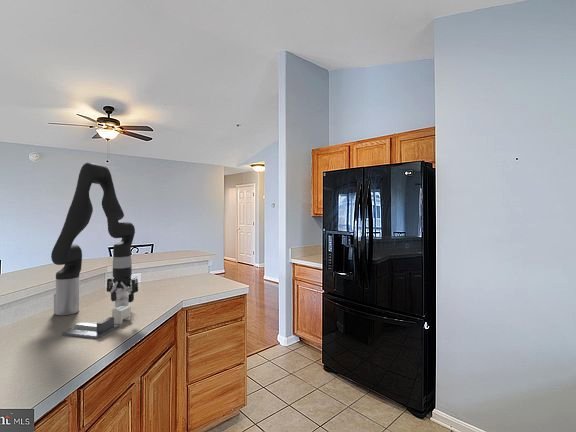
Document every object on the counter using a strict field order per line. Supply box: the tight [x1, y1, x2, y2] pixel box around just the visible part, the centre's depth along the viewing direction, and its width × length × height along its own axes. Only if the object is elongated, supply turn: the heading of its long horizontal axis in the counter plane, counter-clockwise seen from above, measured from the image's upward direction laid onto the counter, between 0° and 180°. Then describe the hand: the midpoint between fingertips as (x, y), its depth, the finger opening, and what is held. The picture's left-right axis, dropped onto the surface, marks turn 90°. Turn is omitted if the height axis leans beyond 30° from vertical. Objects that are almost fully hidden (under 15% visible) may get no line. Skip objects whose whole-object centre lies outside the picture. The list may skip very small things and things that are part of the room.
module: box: [111, 305, 131, 325], centre depth 133 cm, size 4×6×6 cm
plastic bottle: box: [114, 288, 130, 308], centre depth 151 cm, size 6×7×20 cm
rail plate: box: [61, 316, 120, 339], centre depth 122 cm, size 16×12×5 cm
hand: (122, 301), depth 133 cm, fingers open, 8 cm apart
